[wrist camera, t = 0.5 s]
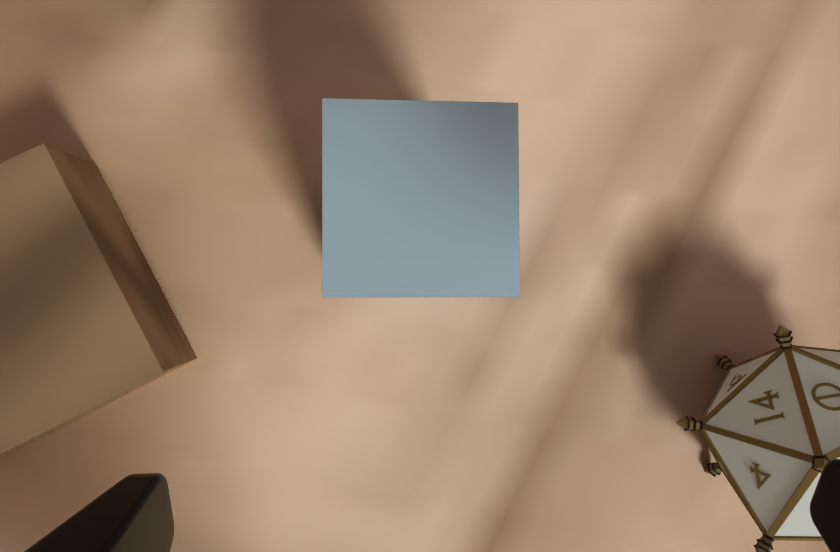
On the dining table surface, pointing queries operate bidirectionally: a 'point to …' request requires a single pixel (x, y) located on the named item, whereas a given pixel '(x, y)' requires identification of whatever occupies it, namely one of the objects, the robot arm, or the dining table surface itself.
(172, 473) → the dining table surface
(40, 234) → the walnut block
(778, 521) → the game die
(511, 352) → the dining table surface
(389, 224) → the blue block
